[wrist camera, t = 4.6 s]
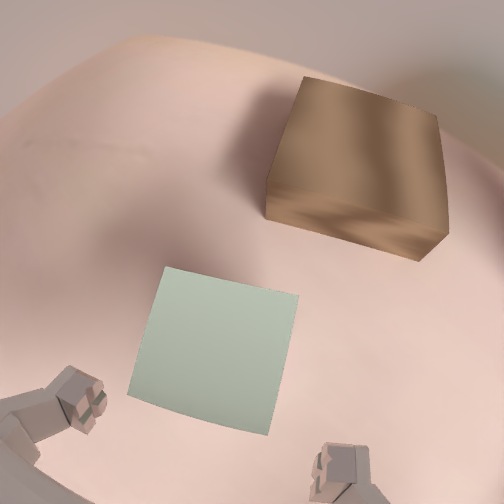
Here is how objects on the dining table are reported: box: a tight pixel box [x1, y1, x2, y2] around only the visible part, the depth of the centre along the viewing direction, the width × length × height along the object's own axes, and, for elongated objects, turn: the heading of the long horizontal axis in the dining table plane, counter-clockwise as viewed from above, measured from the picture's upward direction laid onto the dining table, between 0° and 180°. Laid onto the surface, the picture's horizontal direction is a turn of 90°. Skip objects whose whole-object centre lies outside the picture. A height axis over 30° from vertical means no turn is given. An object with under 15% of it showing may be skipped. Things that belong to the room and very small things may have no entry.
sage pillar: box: [127, 266, 299, 436], centre depth 14 cm, size 4×4×10 cm
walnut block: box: [265, 76, 449, 262], centre depth 22 cm, size 12×12×5 cm
